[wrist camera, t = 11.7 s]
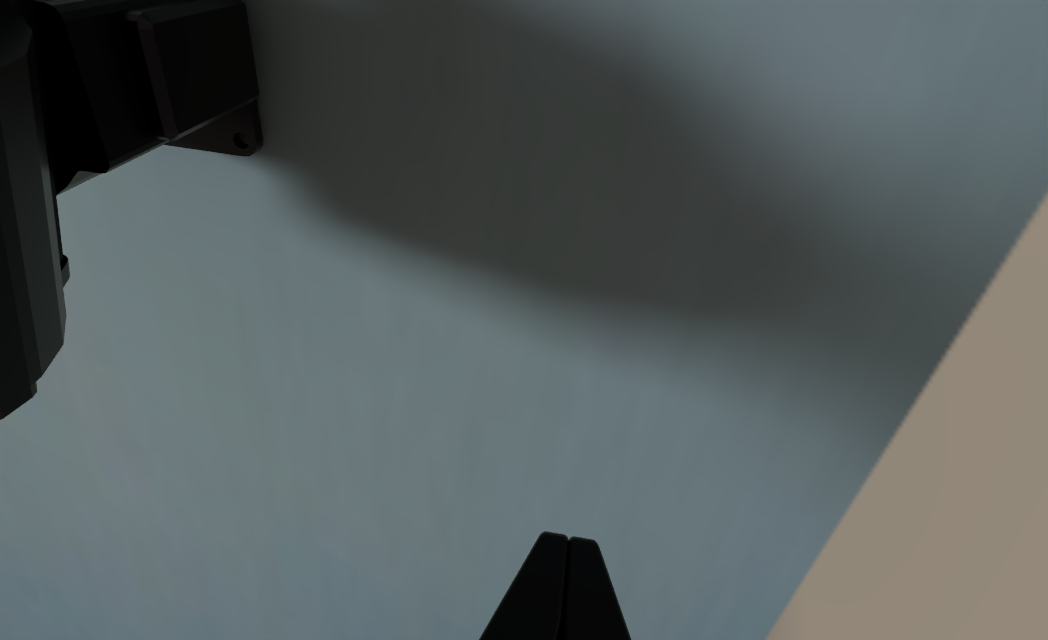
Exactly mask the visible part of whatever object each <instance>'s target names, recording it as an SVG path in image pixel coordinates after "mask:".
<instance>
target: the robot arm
mask: <svg viewBox="0 0 1048 640" xmlns="http://www.w3.org/2000/svg"><path fill="white" fill-rule="evenodd" d="M258 95H259V88H258V82H257V76H256V69H255V63H254V56H253V50H252V44H251V37H250V31H249V24H248V18H247V12H246V6H245V4H244V2H243V1H242V0H0V420H1V419H3V418H5V417H6V416H7V415H9V414H10V413H12V412H13V411H14V410H16V409H17V408H18V407H20V406H21V405H23V404H24V403H25V402H27V401H28V400H30V399H31V398H32V397H33V396H34V395H35V393H36V392H37V383H36V381H37V380H38V379H39V378H40V377H41V376H42V375H43V374H44V372H45V371H46V369H47V368H48V366H49V365H50V364H51V362H52V361H53V359H54V358H55V356H56V355H57V353H58V352H59V350H60V349H61V347H62V346H63V343H64V333H65V323H66V309H65V300H64V292H63V287H64V286H65V284H66V282H67V281H68V279H69V277H70V271H69V262H68V258H67V257H66V256H65V255H63V252H62V243H61V234H60V225H59V217H58V208H57V199H56V196H57V195H59V194H61V193H63V192H65V191H67V190H69V189H71V188H73V187H75V186H77V185H79V184H81V183H83V182H85V181H87V180H89V179H91V178H93V177H95V176H97V175H99V174H101V173H107V172H109V171H111V170H113V169H115V168H117V167H119V166H121V165H123V164H125V163H127V162H129V161H131V160H133V159H135V158H137V157H139V156H141V155H143V154H145V153H147V152H149V151H151V150H153V149H155V148H157V147H159V146H161V145H169V146H176V147H183V148H190V149H197V150H203V151H210V152H217V153H224V154H231V155H237V156H250V155H252V154H254V153H255V152H257V151H258V150H260V149H261V147H262V145H263V137H262V130H261V124H260V118H259V112H258V105H257V99H256V97H257V96H258ZM240 133H242V134H244V135H245V136H246V137H247V138H248V141H249V145H248V144H246V143H244V142H243V141H242V140H241V137H240ZM479 640H631V637H630V635H629V632H628V629H627V626H626V623H625V620H624V617H623V614H622V611H621V608H620V606H619V603H618V600H617V597H616V594H615V591H614V588H613V585H612V582H611V580H610V577H609V574H608V571H607V568H606V565H605V562H604V559H603V556H602V554H601V551H600V548H599V546H598V544H597V542H596V541H594V540H592V539H586V538H580V537H571V538H570V539H568V537H567V536H566V535H564V534H558V533H552V532H547V531H545V532H543V533H541V534H540V536H539V537H538V539H537V541H536V543H535V544H534V546H533V548H532V549H531V551H530V553H529V555H528V556H527V558H526V560H525V561H524V563H523V565H522V567H521V568H520V570H519V572H518V573H517V575H516V577H515V579H514V580H513V582H512V584H511V586H510V587H509V589H508V591H507V592H506V594H505V596H504V598H503V599H502V601H501V603H500V604H499V606H498V608H497V610H496V611H495V613H494V615H493V616H492V618H491V620H490V622H489V623H488V625H487V627H486V628H485V630H484V632H483V634H482V635H481V637H480V639H479Z"/></svg>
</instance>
